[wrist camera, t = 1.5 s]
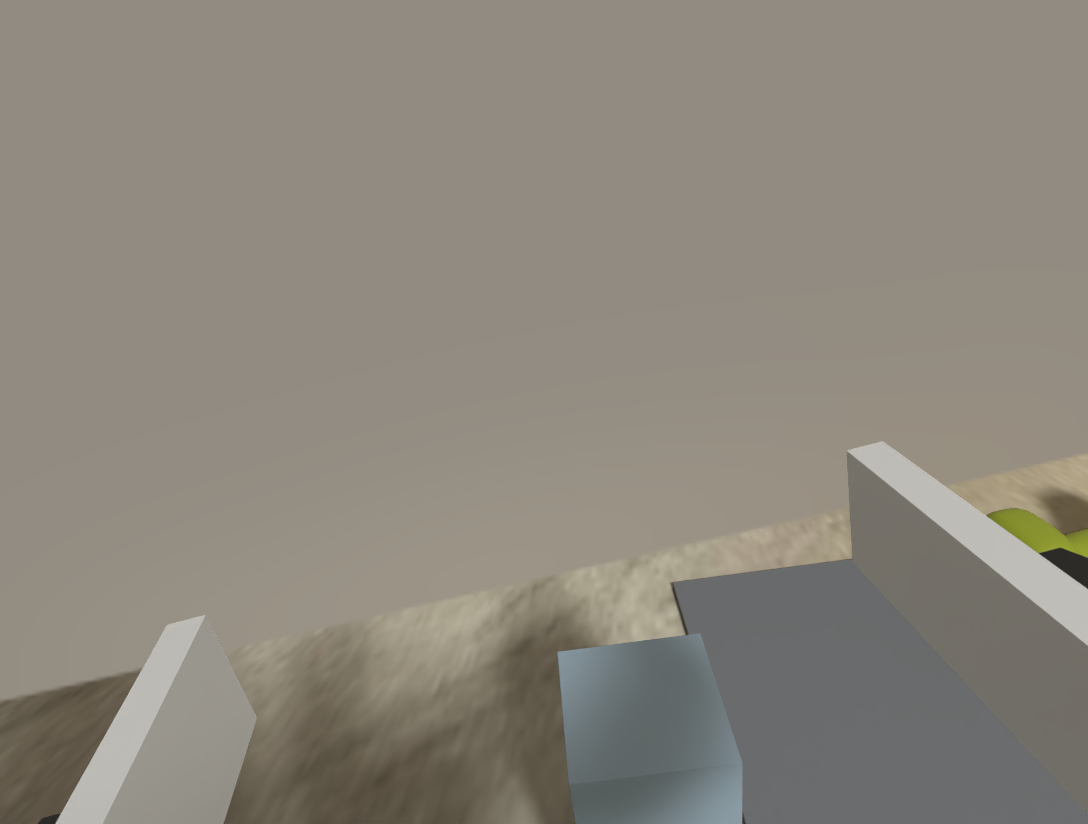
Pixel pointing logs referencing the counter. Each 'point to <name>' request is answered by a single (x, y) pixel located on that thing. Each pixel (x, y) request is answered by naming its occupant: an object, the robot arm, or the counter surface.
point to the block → (648, 735)
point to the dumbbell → (1039, 532)
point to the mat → (855, 709)
